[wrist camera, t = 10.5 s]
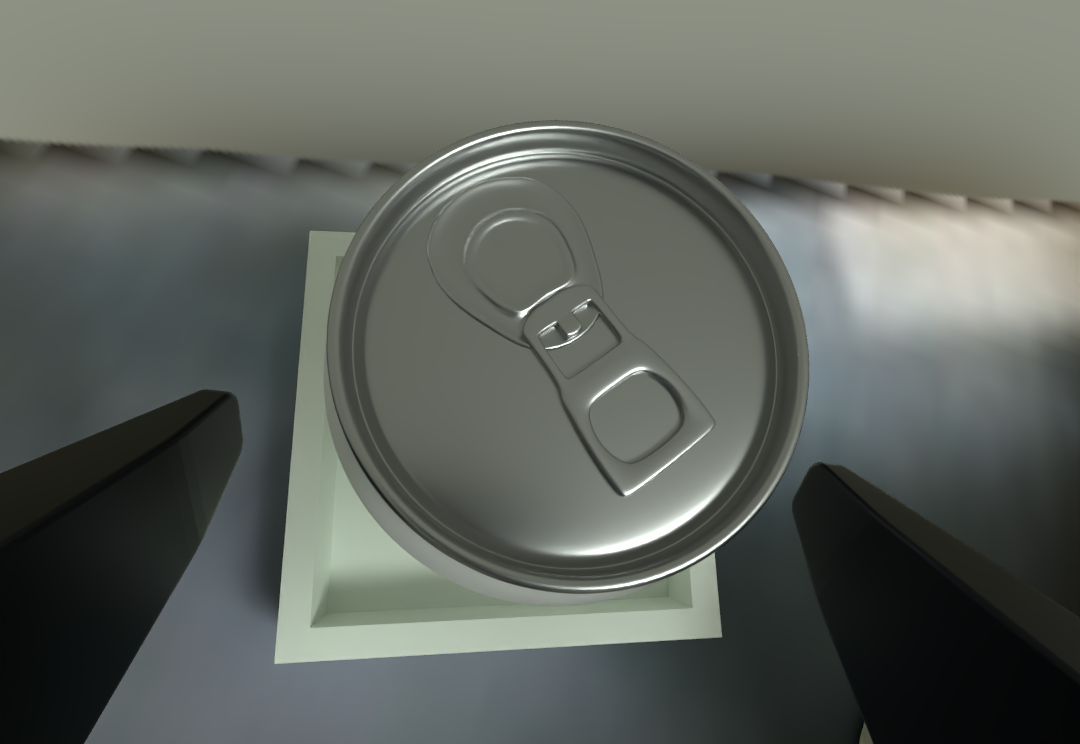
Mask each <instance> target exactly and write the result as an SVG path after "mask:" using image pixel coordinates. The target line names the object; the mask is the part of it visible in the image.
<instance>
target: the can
mask: <svg viewBox="0 0 1080 744" xmlns="http://www.w3.org/2000/svg"><path fill="white" fill-rule="evenodd" d="M323 380H324V398H325V406H326V413H327V419H328V424H329V428H330V432H331V436H332V439H333V443H334V446H335V449H336V452H337V454H338V457H339V460H340V462H341V464H342V467H343V469H344V471H345V473H346V475H347V477H348V479H349V482H350V483H351V485H352V487H353V489H354V490H355V492H356V494H357V495H358V497H359V499H360V500H361V502H362V503H363V505H364V506H365V507H366V509H367V510H368V512H369V513H370V514H371V516H372V517H373V518H374V519H375V521H376V522H377V523H378V524H379V525H380V526H381V528H382V529H383V530H384V531H385V532H386V533H387V534H388V535H389V536H390V537H391V538H392V539H393V540H394V541H395V542H396V543H397V544H398V545H399V546H400V547H401V548H403V549H404V550H405V551H406V552H407V553H409V554H410V555H411V556H412V557H414V558H415V559H416V560H418V561H419V562H420V563H422V564H423V565H425V566H426V567H428V568H429V569H431V570H432V571H434V572H435V573H437V574H439V575H441V576H442V577H444V578H446V579H448V580H450V581H452V582H454V583H456V584H458V585H460V586H462V587H465V588H467V589H469V590H472V591H475V592H477V593H480V594H483V595H486V596H489V597H493V598H497V599H500V600H505V601H509V602H514V603H520V604H527V605H536V606H574V605H584V604H590V603H597V602H601V601H606V600H610V599H614V598H617V597H621V596H624V595H627V594H630V593H633V592H635V591H638V590H640V589H643V588H645V587H647V586H649V585H651V584H653V583H655V582H657V581H660V580H663V579H665V578H668V577H670V576H673V575H675V574H677V573H679V572H682V571H684V570H686V569H688V568H690V567H692V566H693V565H695V564H697V563H699V562H700V561H702V560H704V559H706V558H707V557H709V556H710V555H712V554H713V553H715V552H716V551H717V550H719V549H720V548H721V547H723V546H724V545H725V544H727V543H728V542H729V541H730V540H731V539H733V538H734V537H735V536H736V535H737V534H738V533H739V532H740V531H741V530H742V529H743V528H744V527H745V526H746V525H747V524H748V523H749V522H750V521H751V520H752V519H753V518H754V517H755V516H756V514H757V513H758V512H759V511H760V510H761V508H762V507H763V506H764V504H765V503H766V502H767V500H768V499H769V497H770V496H771V495H772V493H773V492H774V490H775V488H776V487H777V485H778V483H779V482H780V480H781V478H782V476H783V474H784V473H785V470H786V468H787V466H788V464H789V462H790V460H791V457H792V455H793V453H794V450H795V447H796V445H797V442H798V439H799V435H800V432H801V428H802V424H803V420H804V416H805V411H806V404H807V398H808V388H809V352H808V342H807V335H806V329H805V323H804V319H803V314H802V310H801V307H800V303H799V300H798V297H797V294H796V291H795V288H794V285H793V283H792V280H791V278H790V275H789V273H788V271H787V269H786V267H785V265H784V262H783V260H782V259H781V257H780V255H779V253H778V251H777V249H776V248H775V246H774V244H773V243H772V241H771V240H770V238H769V236H768V235H767V233H766V232H765V231H764V229H763V228H762V226H761V225H760V224H759V222H758V221H757V220H756V218H755V217H754V216H753V215H752V214H751V212H750V211H749V210H748V209H747V208H746V207H745V205H744V204H743V203H742V202H741V201H740V200H739V199H738V198H737V197H736V196H735V195H734V194H733V193H732V192H731V191H730V190H729V189H728V188H727V187H725V186H724V185H723V184H722V183H721V182H720V181H719V180H717V179H716V178H715V177H714V176H712V175H711V174H710V173H708V172H707V171H706V170H704V169H703V168H702V167H700V166H699V165H697V164H696V163H694V162H693V161H691V160H689V159H688V158H686V157H685V156H683V155H681V154H680V153H678V152H676V151H674V150H672V149H670V148H668V147H666V146H664V145H662V144H660V143H657V142H655V141H653V140H651V139H648V138H645V137H643V136H640V135H637V134H634V133H632V132H628V131H625V130H621V129H618V128H614V127H609V126H605V125H600V124H594V123H587V122H577V121H559V120H558V121H557V120H554V121H553V120H550V121H532V122H523V123H516V124H511V125H505V126H501V127H497V128H493V129H489V130H486V131H483V132H480V133H477V134H474V135H471V136H469V137H466V138H463V139H461V140H459V141H457V142H455V143H452V144H451V145H449V146H447V147H444V148H443V149H441V150H439V151H437V152H436V153H434V154H433V155H431V156H429V157H427V158H426V159H424V160H423V161H422V162H420V163H419V164H417V165H416V166H415V167H413V168H412V169H411V170H409V171H408V172H407V173H406V174H405V175H403V176H402V177H401V178H400V179H399V180H398V181H397V182H396V183H395V184H394V185H393V186H392V187H391V188H390V189H389V190H388V191H387V192H386V193H385V194H384V195H383V196H382V197H381V198H380V200H379V201H378V202H377V203H376V204H375V206H374V207H373V208H372V209H371V211H370V212H369V213H368V215H367V216H366V218H365V219H364V221H363V222H362V224H361V225H360V227H359V229H358V230H357V232H356V234H355V235H354V237H353V239H352V241H351V243H350V245H349V247H348V249H347V251H346V253H345V256H344V258H343V261H342V263H341V266H340V269H339V272H338V274H337V278H336V281H335V285H334V288H333V293H332V297H331V302H330V308H329V314H328V323H327V342H326V348H325V356H324V378H323Z"/></svg>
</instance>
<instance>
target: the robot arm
mask: <svg viewBox="0 0 1080 744" xmlns="http://www.w3.org/2000/svg"><path fill="white" fill-rule="evenodd" d="M242 445H243V434H242V427H241V420H240V412H239V405H238V400H237V398H236V396H235V395H234V394H233V393H231V392H224V391H216V390H201V391H198V392H196V393H193V394H191V395H189V396H186V397H184V398H181V399H179V400H176V401H174V402H172V403H169V404H167V405H164V406H162V407H160V408H157V409H155V410H152V411H150V412H148V413H145V414H143V415H140V416H138V417H136V418H133V419H131V420H128V421H126V422H123V423H121V424H119V425H116V426H114V427H111V428H109V429H107V430H104V431H102V432H99V433H97V434H95V435H92V436H90V437H87V438H85V439H83V440H80V441H78V442H75V443H73V444H70V445H68V446H66V447H63V448H61V449H58V450H56V451H54V452H51V453H49V454H46V455H44V456H42V457H39V458H37V459H34V460H32V461H29V462H27V463H25V464H22V465H20V466H17V467H15V468H13V469H10V470H8V471H5V472H3V473H1V474H0V744H84V743H85V741H86V739H87V738H88V736H89V734H90V733H91V731H92V729H93V727H94V726H95V724H96V722H97V721H98V719H99V717H100V715H101V714H102V712H103V710H104V709H105V707H106V705H107V703H108V702H109V700H110V698H111V697H112V695H113V693H114V691H115V690H116V688H117V686H118V685H119V683H120V681H121V680H122V678H123V676H124V674H125V673H126V671H127V669H128V668H129V666H130V664H131V662H132V661H133V659H134V657H135V656H136V654H137V652H138V650H139V649H140V647H141V645H142V644H143V642H144V640H145V638H146V637H147V635H148V633H149V632H150V630H151V628H152V626H153V625H154V623H155V621H156V620H157V618H158V616H159V614H160V613H161V611H162V609H163V608H164V606H165V604H166V603H167V601H168V599H169V597H170V596H171V594H172V592H173V591H174V589H175V587H176V585H177V584H178V582H179V580H180V579H181V577H182V575H183V573H184V572H185V570H186V568H187V567H188V565H189V563H190V561H191V560H192V558H193V556H194V554H195V552H196V551H197V549H198V547H199V545H200V543H201V541H202V539H203V537H204V535H205V533H206V531H207V529H208V526H209V524H210V522H211V519H212V517H213V515H214V513H215V510H216V508H217V506H218V503H219V501H220V499H221V497H222V494H223V492H224V490H225V487H226V485H227V483H228V481H229V478H230V476H231V474H232V471H233V469H234V467H235V465H236V462H237V460H238V458H239V455H240V453H241V449H242ZM792 514H793V518H794V522H795V525H796V529H797V532H798V536H799V539H800V543H801V547H802V550H803V554H804V557H805V561H806V564H807V568H808V571H809V575H810V579H811V582H812V586H813V589H814V592H815V595H816V598H817V601H818V604H819V607H820V610H821V612H822V615H823V618H824V620H825V623H826V625H827V628H828V630H829V633H830V635H831V638H832V640H833V643H834V646H835V648H836V651H837V653H838V656H839V658H840V661H841V663H842V666H843V669H844V671H845V674H846V676H847V679H848V681H849V684H850V686H851V689H852V691H853V694H854V697H855V699H856V702H857V704H858V707H859V709H860V712H861V714H862V717H863V720H864V722H865V725H866V727H867V730H868V732H869V735H870V737H871V740H872V742H873V744H1080V617H1078V616H1077V615H1075V614H1074V613H1072V612H1070V611H1069V610H1067V609H1066V608H1064V607H1063V606H1061V605H1060V604H1058V603H1056V602H1055V601H1053V600H1052V599H1050V598H1049V597H1047V596H1046V595H1044V594H1042V593H1041V592H1039V591H1038V590H1036V589H1035V588H1033V587H1031V586H1030V585H1028V584H1027V583H1025V582H1024V581H1022V580H1021V579H1019V578H1017V577H1016V576H1014V575H1013V574H1011V573H1010V572H1008V571H1007V570H1005V569H1003V568H1002V567H1000V566H999V565H997V564H996V563H994V562H992V561H991V560H989V559H988V558H986V557H985V556H983V555H982V554H980V553H978V552H977V551H975V550H974V549H972V548H971V547H969V546H968V545H966V544H964V543H963V542H961V541H960V540H958V539H957V538H955V537H953V536H952V535H950V534H949V533H947V532H946V531H944V530H943V529H941V528H939V527H938V526H936V525H935V524H933V523H932V522H930V521H929V520H927V519H925V518H924V517H922V516H921V515H919V514H918V513H916V512H914V511H913V510H911V509H910V508H908V507H907V506H905V505H904V504H902V503H900V502H899V501H897V500H896V499H894V498H893V497H891V496H890V495H888V494H886V493H885V492H883V491H882V490H880V489H879V488H877V487H875V486H874V485H872V484H871V483H869V482H868V481H866V480H865V479H863V478H861V477H860V476H858V475H857V474H855V473H854V472H852V471H851V470H849V469H847V468H846V467H844V466H842V465H839V464H832V463H823V462H818V463H815V464H813V465H812V466H811V467H810V468H809V470H808V472H807V474H806V475H805V477H804V479H803V481H802V483H801V485H800V486H799V488H798V490H797V492H796V494H795V496H794V498H793V501H792Z"/></svg>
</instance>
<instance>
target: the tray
mask: <svg viewBox="0 0 1080 744" xmlns="http://www.w3.org/2000/svg"><path fill="white" fill-rule="evenodd" d="M355 234H356V233H354V232H331V231H310V235H309V247H308V259H307V271H306V284H305V296H304V308H303V320H302V333H301V345H300V357H299V369H298V382H297V394H296V406H295V418H294V430H293V443H292V455H291V467H290V479H289V492H288V504H287V516H286V528H285V541H284V553H283V565H282V577H281V590H280V602H279V614H278V626H277V638H276V651H275V663H274V664H280V663H297V662H313V661H330V660H347V659H364V658H381V657H398V656H414V655H431V654H448V653H465V652H482V651H499V650H515V649H532V648H549V647H566V646H583V645H600V644H616V643H633V642H650V641H667V640H684V639H701V638H717V637H722V631H721V619H720V608H719V597H718V586H717V575H716V564H715V553H713V554H712V555H710V556H709V557H707V558H706V559H704V560H702V561H700V562H699V563H697V564H695V565H693V566H692V567H690V568H688V569H686V570H684V571H682V572H679V573H677V574H675V575H673V576H670V577H668V578H665V579H663V580H660V581H657V582H655V583H653V584H651V585H649V586H647V587H645V588H643V589H640V590H638V591H635V592H633V593H630V594H627V595H624V596H621V597H617V598H614V599H610V600H606V601H601V602H597V603H590V604H584V605H574V606H536V605H527V604H520V603H514V602H509V601H505V600H500V599H497V598H493V597H489V596H486V595H483V594H480V593H477V592H475V591H472V590H469V589H467V588H465V587H462V586H460V585H458V584H456V583H454V582H452V581H450V580H448V579H446V578H444V577H442V576H441V575H439V574H437V573H435V572H434V571H432V570H431V569H429V568H428V567H426V566H425V565H423V564H422V563H420V562H419V561H418V560H416V559H415V558H414V557H412V556H411V555H410V554H409V553H407V552H406V551H405V550H404V549H403V548H401V547H400V546H399V545H398V544H397V543H396V542H395V541H394V540H393V539H392V538H391V537H390V536H389V535H388V534H387V533H386V532H385V531H384V530H383V529H382V528H381V526H380V525H379V524H378V523H377V522H376V521H375V519H374V518H373V517H372V516H371V514H370V513H369V512H368V510H367V509H366V507H365V506H364V505H363V503H362V502H361V500H360V499H359V497H358V495H357V494H356V492H355V490H354V489H353V487H352V485H351V483H350V482H349V479H348V477H347V475H346V473H345V471H344V469H343V467H342V464H341V462H340V460H339V457H338V454H337V452H336V449H335V446H334V443H333V439H332V436H331V432H330V428H329V424H328V419H327V413H326V406H325V398H324V380H323V378H324V356H325V348H326V342H327V323H328V314H329V308H330V302H331V297H332V293H333V288H334V285H335V281H336V278H337V274H338V272H339V269H340V266H341V263H342V261H343V258H344V256H345V253H346V251H347V249H348V247H349V245H350V243H351V241H352V239H353V237H354V235H355Z"/></svg>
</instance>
